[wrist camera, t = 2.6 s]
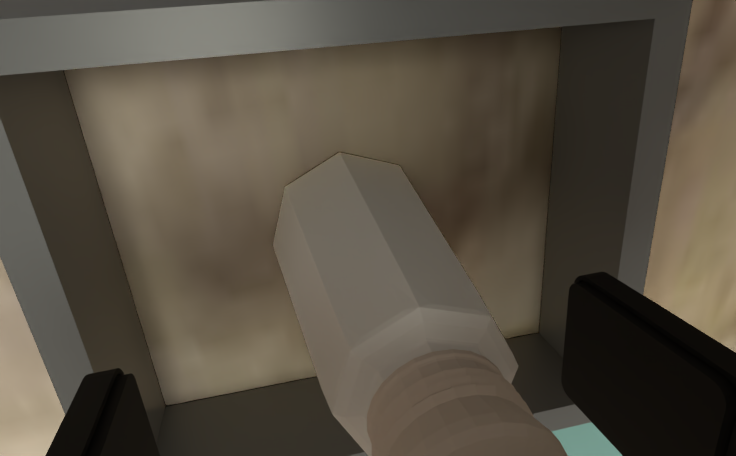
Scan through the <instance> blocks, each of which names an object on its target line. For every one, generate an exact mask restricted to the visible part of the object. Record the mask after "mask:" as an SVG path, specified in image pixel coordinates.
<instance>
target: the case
mask: <svg viewBox="0 0 736 456" xmlns="http://www.w3.org/2000/svg"><path fill="white" fill-rule="evenodd" d="M692 1H693V0H269V1H255V2H240V3H226V4H212V5H197V6H183V7H169V8H154V9H140V10H126V11H111V12H97V13H83V14H68V15H54V16H40V17H25V18H11V19H0V257H1V260H2V262H3V265H4V267H5V269H6V272H7V274H8V277H9V279H10V282H11V284H12V286H13V289H14V291H15V294H16V296H17V299H18V301H19V303H20V306H21V308H22V311H23V313H24V316H25V318H26V320H27V323H28V325H29V328H30V330H31V333H32V335H33V337H34V340H35V342H36V345H37V347H38V349H39V352H40V354H41V357H42V359H43V362H44V364H45V366H46V369H47V371H48V374H49V376H50V379H51V381H52V383H53V386H54V388H55V391H56V393H57V396H58V398H59V400H60V403H61V405H62V408H63V410H64V413H65V415H66V413H67V411H68V409H69V407H70V405H71V402H72V400H73V398H74V396H75V394H76V392H77V390H78V388H79V386H80V384H81V382H82V380H83V378H84V377H85V375H87V374H91V373H96V372H101V371H106V370H111V369H116V368H120V369H121V370H122V371H123V372H124V375H125V374H130V373H132V374H133V375H134V376H135V379H136V382H137V385H138V388H139V391H140V394H141V397H142V401H143V404H144V407H145V410H146V413H147V416H148V420H149V423H150V426H151V429H152V432H153V435H154V438H155V442H156V445H157V448H158V451H159V454H160V456H368V455H367V454H366V453H365V451H364V450H363V449H362V448H361V447H360V446H359V444H358V443H357V442H356V441H355V440H354V439H353V438H352V436H351V435H350V434H349V433H348V432H347V431H346V430H345V428H344V427H343V426H342V425H341V424H340V423H339V421H338V420H337V419H336V418H335V417H334V416H333V415H332V412H331V410H330V408H329V405H328V403H327V401H326V398H325V396H324V394H323V391H322V389H321V386H320V383H319V380H318V377H314V378H309V379H304V380H299V381H294V382H289V383H284V384H278V385H273V386H268V387H263V388H258V389H253V390H248V391H243V392H238V393H233V394H228V395H223V396H218V397H213V398H208V399H203V400H198V401H193V402H187V403H182V404H177V405H172V406H167V407H166V406H165V403H164V400H163V397H162V393H161V390H160V387H159V384H158V380H157V377H156V374H155V370H154V367H153V364H152V361H151V357H150V354H149V351H148V348H147V344H146V341H145V338H144V334H143V331H142V328H141V325H140V321H139V318H138V315H137V312H136V308H135V305H134V302H133V298H132V295H131V292H130V289H129V285H128V282H127V279H126V275H125V272H124V269H123V266H122V262H121V259H120V256H119V253H118V249H117V246H116V243H115V239H114V236H113V233H112V230H111V226H110V223H109V220H108V217H107V213H106V210H105V207H104V203H103V200H102V197H101V194H100V190H99V187H98V184H97V181H96V177H95V174H94V171H93V167H92V164H91V161H90V158H89V154H88V151H87V148H86V145H85V141H84V138H83V135H82V131H81V128H80V125H79V122H78V118H77V115H76V112H75V108H74V105H73V102H72V99H71V95H70V92H69V89H68V86H67V82H66V79H65V76H64V72H63V70H69V69H81V68H92V67H104V66H115V65H127V64H138V63H150V62H161V61H173V60H184V59H196V58H207V57H219V56H230V55H242V54H253V53H265V52H276V51H288V50H299V49H311V48H322V47H334V46H345V45H357V44H368V43H380V42H391V41H403V40H414V39H426V38H437V37H449V36H460V35H472V34H483V33H495V32H506V31H518V30H529V29H541V28H552V27H562V34H561V48H560V61H559V74H558V88H557V101H556V114H555V127H554V141H553V154H552V167H551V181H550V194H549V207H548V221H547V234H546V247H545V261H544V274H543V287H542V300H541V314H540V327H539V333H536V334H531V335H526V336H521V337H516V338H511V339H506V340H505V341H506V342H507V344H508V346H509V348H510V349H511V351H512V353H513V355H514V357H515V359H516V362H517V364H518V369H517V371H516V374H515V376H514V378H513V381H512V383H511V384H512V385H513V386H514V388H515V389H516V391H517V392H518V393H519V394H520V396H521V397H522V399H523V400H524V401H525V402H526V404H527V405H528V407H529V409H530V410H531V412H532V414H533V416H534V418H535V419H536V420H538V421H539V422H540V423H541V424H543V425H544V426H545V427H546V428H548V429H549V430H550V431H556V430H560V429H564V428H568V427H573V426H577V425H581V424H586V423H590V422H591V421H590V420H589V419H588V418H587V417H586V416H585V414H584V413H583V412H582V411H581V410H580V409H579V408H578V407H577V406H576V405H575V404H574V403H573V402H572V400H571V399H570V398H569V397H568V396H567V395H566V393H565V391H564V389H563V387H562V382H561V376H562V365H563V353H564V341H565V330H566V318H567V306H568V295H569V288H570V286H571V285H572V284H574V281H575V279H576V278H577V277H578V276H581V275H586V274H591V273H596V272H606V273H608V274H610V275H611V276H613V277H615V278H616V279H618V280H619V281H621V282H623V283H624V284H626V285H627V286H629V287H631V288H632V289H634V290H635V291H637V292H639V293H640V294H642V295H643V291H644V285H645V279H646V274H647V268H648V262H649V256H650V250H651V244H652V238H653V232H654V226H655V220H656V214H657V208H658V202H659V197H660V191H661V185H662V179H663V173H664V167H665V161H666V155H667V149H668V143H669V137H670V131H671V125H672V119H673V114H674V108H675V102H676V96H677V90H678V84H679V78H680V72H681V66H682V60H683V54H684V48H685V42H686V37H687V31H688V25H689V19H690V13H691V7H692Z"/></svg>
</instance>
